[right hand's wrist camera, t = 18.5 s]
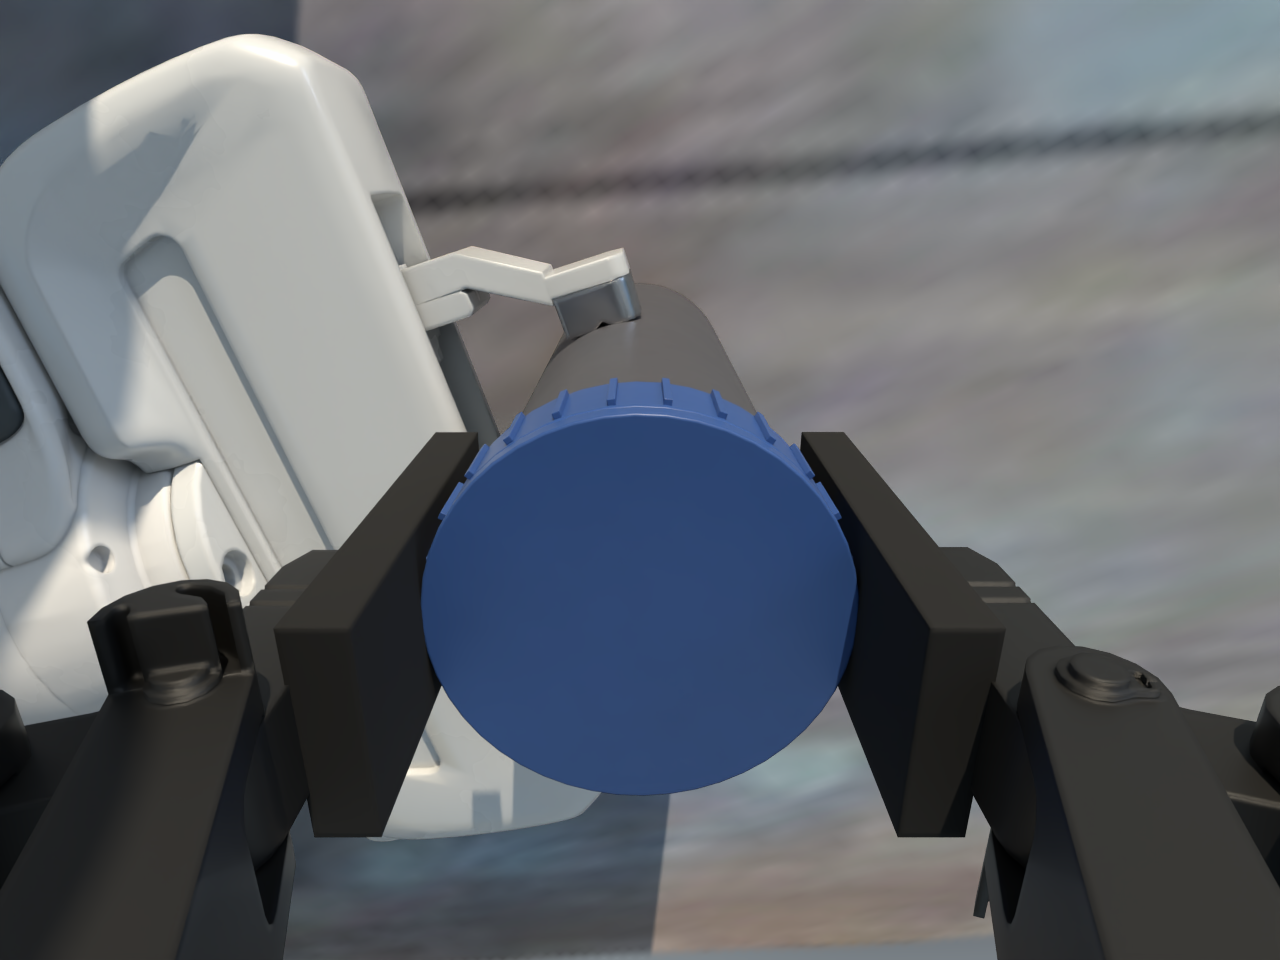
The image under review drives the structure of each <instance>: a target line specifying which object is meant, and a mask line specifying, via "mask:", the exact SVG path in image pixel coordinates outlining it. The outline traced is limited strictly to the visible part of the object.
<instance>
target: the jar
mask: <svg viewBox="0 0 1280 960" xmlns="http://www.w3.org/2000/svg"><path fill="white" fill-rule="evenodd" d="M635 287H636V290H637V294H638V297H639V301H640V304H641V308H642V309H641V312H642V313H641V315H639V316H638V317H636V318H634V319H631V320H629V321H626V322H622V323H617V324H613V325H611V324H608V323H605V322H602V323H601V324H600V325H599V327H598V328H597V329H596V330H594V331H592V332H590V333H588V334H585V335H582V336H579V337H575V338H572V339H569V340H567V337H566V334H565V332H564V334H563V336H562V338H561V340H560V342H559V343H558V345H557V347H556V349H555V351H554V353H553V355H552V357H551V359H550V361H549V363H548V365H547V367H546V369H545V371H544V373H543V374H542V376H541V378H540V380H539V382H538V384H537V386H536V388H535V390H534V392H533V394H532V396H531V398H530V400H529V402H528V404H527V405H526V407H525V409H524V411H523V414H524V415H525V416H526V415H527V414H529V413H530V412H532V411H533V410H535V409H537V408H539V407H541V406H543V405H545V404H547V403H549V402H551V401H553V400H554V399H556V398H558V396H559V393H560V391H563V390H566V389H567V391H568V393H569V394H570V393H573V392H576V391H579V390H582V389H586V388H591V387H596V386H600V385H605V384H609V381H610V379H611V378H618V383H623V382H635V381H636V382H658V383H661V381H662V378H669V379H670V384H673V385H679V386H685V387H690V388H693V389H696V390H700V391H703V392H706V393H709V394H711V391H712V389H714V390H716V391H719V392H720V395H721V397H722V399H724V400H726V401H729V402H731V403H733V404H735V405H737V406H739V407H741V408H743V409H744V410H746V411H747V412H749V413H750V414H752V415H754V416H755V414H756V413H757V412H756V410H755V408H754V407H753V405H752V403H751V401H750V399H749V397H748V395H747V393H746V391H745V389H744V387H743V385H742V383H741V381H740V379H739V377H738V376H737V374H736V372H735V370H734V368H733V366H732V364H731V362H730V360H729V358H728V356H727V354H726V352H725V350H724V348H723V347H722V345H721V343H720V341H719V339H718V337H717V335H716V333H715V331H714V329H713V327H712V325H711V324H710V322H709V321H708V319H707V317H706V316H705V315H704V314H703V313H702V311H701V310H700V309H699V308H698V307H697V306H696V305H695V304H694V303H692V302H691V301H690V300H689V299H687V298H686V297H684V296H683V295H681V294H679V293H677V292H675V291H673V290H671V289H668V288H665V287H662V286H658V285H653V284H642V283H638V284H635Z"/></svg>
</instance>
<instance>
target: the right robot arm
mask: <svg viewBox="0 0 1280 960" xmlns="http://www.w3.org/2000/svg"><path fill="white" fill-rule="evenodd" d="M800 451H801V453H802V455H803V456H804V458H805V460H806V461H807V463H808V465H809V466H810V468H811V470H812V471H813V473H814V474H815V476H814V477H813V478H812V479H813V480H814V482H815V484H816V483H818V482H821V484H822V485H823V487H824V488H825V490H826V492H827V493H828V495H829V497H830V498H831V500H832V502H833V503H834V505H835V506H836V508H837V510H838V511H839V513H840V515H841V517H842V518H841V519H839V520H837V521H838V523H839V525H840V527H841V530H842V532H843V534H844V536H845V538H846V540H847V542H848V545H849V549H850V552H851V554H852V556H853V562H854V566H855V569H856V577H857V584H858V592H859V601H858V614H857V623H856V631H855V639H854V646H853V649H852V652H851V655H850V658H849V661H848V664H847V668H846V670H845V672H844V674H843V676H842V678H841V680H840V682H839V684H838V687H839V690H840V692H841V695H842V697H843V700H844V702H845V705H846V707H847V710H848V713H849V715H850V718H851V720H852V723H853V725H854V728H855V730H856V733H857V735H858V738H859V740H860V743H861V745H862V748H863V750H864V753H865V755H866V758H867V761H868V763H869V766H870V768H871V771H872V773H873V776H874V778H875V781H876V783H877V786H878V788H879V791H880V793H881V796H882V798H883V801H884V803H885V806H886V809H887V811H888V814H889V816H890V819H891V821H892V824H893V826H894V829H895V831H896V834H897V836H898V837H965V834H966V829H967V824H968V819H969V814H970V809H971V804H972V799H973V796H974V798H975V799H976V801H977V803H978V805H979V807H980V809H981V810H982V812H983V814H984V816H985V818H986V820H987V821H988V823H989V825H990V827H991V829H990V834H989V839H988V844H987V848H986V853H985V858H984V862H983V867H982V872H981V877H980V881H979V886H978V891H977V895H976V901H975V907H974V914H973V916H976V917H980V918H984V917H985V912H986V908H987V903H988V902H989V901H990V908H991V915H992V923H993V930H994V937H995V944H996V951H997V959H998V960H1280V686H1278V687H1276V688H1275V689H1273V690H1272V691H1270V692H1269V693H1267V694H1266V696H1265V699H1264V702H1263V704H1262V707H1261V710H1260V713H1259V716H1258V719H1257V722H1253V721H1248V720H1243V719H1237V718H1232V717H1226V716H1221V715H1216V714H1210V713H1205V712H1200V711H1194V710H1189V709H1185V708H1181V707H1179V705H1178V704H1177V702H1176V700H1175V698H1174V696H1173V695H1172V693H1171V692H1170V691H1169V690H1168V689H1167V687H1166V686H1165V685H1164V684H1163V683H1162V682H1161V681H1160V680H1159V678H1157V677H1156V676H1154V675H1153V674H1151V673H1150V672H1148V671H1146V670H1145V669H1143V668H1142V667H1140V666H1139V665H1137V664H1135V663H1133V662H1130V661H1128V660H1125V659H1123V658H1121V657H1118V656H1116V655H1113V654H1111V653H1107V652H1103V651H1099V650H1094V649H1090V648H1086V647H1079V646H1075V645H1074V644H1073V643H1072V642H1071V641H1070V640H1069V639H1068V638H1067V637H1066V636H1065V635H1064V634H1063V633H1062V632H1061V631H1060V630H1059V628H1058V627H1057V626H1056V625H1055V624H1054V623H1053V622H1052V621H1051V620H1050V619H1049V618H1048V617H1047V616H1046V615H1045V614H1044V613H1043V612H1042V611H1041V609H1040V608H1039V607H1038V606H1037V605H1036V604H1035V603H1031V602H1030V598H1029V597H1028V596H1027V595H1026V594H1025V593H1024V591H1023V590H1022V589H1021V588H1020V587H1016V586H1015V582H1014V581H1013V580H1012V579H1011V578H1010V577H1009V576H1008V575H1007V573H1006V572H1005V571H1004V570H1003V569H1002V568H1001V567H1000V566H999V565H998V564H997V563H995V562H993V561H991V560H990V559H988V558H986V557H984V556H982V555H981V554H979V553H977V552H975V551H973V550H971V549H970V548H968V547H938V545H937V544H936V543H935V542H934V541H933V539H932V538H931V537H930V536H929V535H928V533H927V532H926V531H925V530H924V529H923V527H922V526H921V525H920V524H919V522H918V521H917V520H916V519H915V518H914V516H913V515H912V514H911V513H910V512H909V510H908V509H907V508H906V507H905V506H904V504H903V503H902V502H901V501H900V500H899V498H898V497H897V496H896V495H895V493H894V492H893V491H892V490H891V489H890V487H889V486H888V485H887V484H886V483H885V481H884V480H883V479H882V478H881V477H880V475H879V474H878V473H877V472H876V471H875V469H874V468H873V467H872V466H871V464H870V463H869V462H868V461H867V460H866V458H865V457H864V456H863V455H862V454H861V452H860V451H859V450H858V449H857V448H856V446H855V445H854V444H853V443H852V441H851V440H850V439H849V438H848V437H847V435H846V434H845V433H844V432H802V435H801V448H800ZM478 452H479V442H478V432H435V434H434V435H433V436H432V437H431V438H430V440H429V441H428V442H427V443H426V444H425V446H424V447H423V448H422V449H421V451H420V452H419V453H418V454H417V455H416V457H415V458H414V459H413V460H412V461H411V463H410V464H409V465H408V466H407V467H406V469H405V470H404V471H403V472H402V473H401V475H400V476H399V477H398V478H397V480H396V481H395V482H394V483H393V484H392V486H391V487H390V488H389V489H388V490H387V492H386V493H385V494H384V495H383V496H382V498H381V499H380V500H379V501H378V502H377V504H376V505H375V506H374V507H373V509H372V510H371V511H370V512H369V513H368V515H367V516H366V517H365V518H364V519H363V521H362V522H361V523H360V524H359V525H358V527H357V528H356V529H355V530H354V532H353V533H352V534H351V535H350V536H349V538H348V539H347V540H346V541H345V542H344V544H343V545H342V546H341V547H340V548H339V550H311V551H309V552H308V553H306V554H304V555H302V556H300V557H299V558H297V559H295V560H293V561H291V562H290V563H288V564H286V565H284V566H283V567H282V568H281V569H280V570H279V571H278V572H277V573H276V574H275V575H274V576H273V577H272V578H271V579H270V580H269V582H268V583H267V584H266V585H265V589H261V590H260V591H259V592H258V593H257V594H256V595H255V596H254V598H253V599H252V600H251V601H250V605H249V606H245V607H244V608H242V603H241V598H240V594H239V590H238V589H236V588H235V587H233V586H232V585H230V584H229V583H227V582H222V581H216V580H210V579H196V580H180V581H175V582H170V583H165V584H160V585H155V586H151V587H148V588H145V589H142V590H139V591H137V592H134V593H131V594H128V595H125V596H123V597H121V598H119V599H118V600H116V601H114V602H112V603H110V604H108V605H106V606H105V607H103V608H101V609H100V610H99V611H98V612H97V613H96V614H95V615H94V616H93V617H91V618H90V619H89V620H88V621H87V625H88V628H89V631H90V635H91V638H92V641H93V645H94V648H95V651H96V655H97V658H98V662H99V665H100V668H101V672H102V675H103V678H104V682H105V685H106V688H107V692H108V696H107V698H106V700H105V701H104V703H103V705H102V707H101V709H100V711H97V712H93V713H89V714H83V715H78V716H73V717H67V718H62V719H57V720H52V721H46V722H41V723H36V724H30V725H25V726H24V724H23V721H22V718H21V715H20V712H19V709H18V706H17V704H16V701H15V698H14V697H12V696H11V695H9V694H8V693H6V692H5V691H3V690H0V960H283V954H284V946H285V939H286V932H287V925H288V917H289V910H290V903H291V896H292V888H293V881H294V874H295V867H296V862H295V855H294V848H293V844H292V839H291V834H290V828H291V826H292V825H293V823H294V821H295V819H296V817H297V815H298V814H299V812H300V810H301V808H302V806H303V804H304V802H305V801H306V799H307V802H308V807H309V812H310V817H311V822H312V827H313V832H314V837H382V835H383V833H384V830H385V827H386V825H387V822H388V820H389V817H390V815H391V812H392V810H393V807H394V805H395V802H396V800H397V797H398V795H399V792H400V790H401V787H402V785H403V782H404V779H405V777H406V774H407V772H408V769H409V767H410V764H411V762H412V759H413V757H414V754H415V752H416V749H417V747H418V744H419V742H420V739H421V737H422V734H423V731H424V729H425V726H426V724H427V721H428V719H429V716H430V714H431V711H432V709H433V706H434V704H435V701H436V699H437V696H438V694H439V691H440V689H441V686H442V685H441V683H440V681H439V680H438V678H437V676H436V673H435V671H434V668H433V665H432V663H431V660H430V657H429V655H428V652H427V648H426V643H425V636H424V629H423V619H422V610H421V589H422V578H423V573H424V569H425V565H426V557H427V555H428V552H429V550H430V547H431V545H432V542H433V540H434V537H435V535H436V533H437V530H438V528H439V526H440V524H441V522H442V520H440V519H438V516H439V514H440V512H441V510H442V509H443V507H444V506H445V504H446V502H447V501H448V499H449V497H450V496H451V494H452V492H453V491H454V489H455V488H456V486H457V484H458V483H459V482H460V483H463V484H464V483H465V482H466V480H467V478H466V477H465V476H464V475H465V473H466V472H467V470H468V469H469V467H470V465H471V464H472V462H473V460H474V459H475V457H476V455H477V454H478Z"/></svg>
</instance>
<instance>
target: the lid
mask: <svg viewBox="0 0 1280 960" xmlns="http://www.w3.org/2000/svg"><path fill="white" fill-rule="evenodd" d="M464 476H465V477H466V478H467V480H466V482H465V483H464V484H463V483H460V482H459V483H458V484H457V486H456V488H455V489H454V491H453V492H452V494H451V496H450V497H449V499H448V501H447V502H446V504H445V506H444V507H443V509H442V510H441V512H440V514H439V516H438V519H440V520H442V522H441V524H440V526H439V528H438V530H437V533H436V535H435V537H434V540H433V542H432V545H431V547H430V550H429V552H428V555H427V557H426V565H425V569H424V573H423V578H422V589H421V610H422V619H423V629H424V636H425V643H426V648H427V652H428V655H429V657H430V660H431V663H432V665H433V668H434V671H435V673H436V676H437V678H438V680H439V681H440V683H441V685H442V687H443V689H444V691H445V693H446V694H447V696H448V698H449V699H450V701H451V702H452V703H453V705H454V706H455V707H456V709H457V710H458V712H459V713H460V714H461V716H462V717H463V718H464V719H465V720H466V721H467V722H468V723H469V724H470V725H471V727H472V728H473V729H474V730H475V731H476V732H477V733H478V734H479V735H480V736H481V737H483V738H484V739H485V740H486V741H487V742H489V743H490V744H491V745H492V746H493V747H495V748H496V749H497V750H498V751H500V752H501V753H503V754H504V755H506V756H507V757H509V758H510V759H512V760H514V761H515V762H517V763H518V764H520V765H522V766H524V767H526V768H528V769H530V770H532V771H534V772H536V773H538V774H540V775H542V776H544V777H547V778H550V779H552V780H555V781H558V782H561V783H563V784H566V785H570V786H574V787H578V788H582V789H586V790H590V791H595V792H602V793H609V794H616V795H640V796H646V795H660V794H672V793H677V792H683V791H689V790H695V789H698V788H702V787H705V786H709V785H712V784H716V783H720V782H722V781H725V780H727V779H730V778H732V777H734V776H737V775H739V774H742V773H744V772H746V771H748V770H750V769H752V768H753V767H755V766H757V765H759V764H761V763H763V762H765V761H766V760H768V759H769V758H771V757H772V756H773V755H775V754H776V753H778V752H779V751H781V750H782V749H784V748H785V747H786V746H788V745H789V744H790V743H791V742H792V741H793V740H794V739H795V738H797V737H798V736H799V735H800V734H801V733H802V732H803V731H804V730H805V729H806V728H807V727H808V726H809V725H810V724H811V723H812V721H813V720H814V719H815V718H816V717H817V716H818V715H819V713H820V712H821V711H822V710H823V708H824V707H825V705H826V704H827V702H828V701H829V699H830V698H831V696H832V695H833V693H834V692H835V690H836V688H837V686H838V684H839V682H840V680H841V678H842V676H843V674H844V672H845V670H846V668H847V664H848V661H849V658H850V655H851V652H852V649H853V646H854V639H855V631H856V623H857V614H858V601H859V592H858V584H857V577H856V569H855V566H854V562H853V556H852V554H851V552H850V549H849V545H848V542H847V540H846V538H845V536H844V534H843V532H842V530H841V527H840V525H839V523H838V521H837V520H839V519H841V518H842V517H841V515H840V513H839V511H838V510H837V508H836V506H835V505H834V503H833V502H832V500H831V498H830V497H829V495H828V493H827V492H826V490H825V488H824V487H823V485H822V484H821V482H818V483H816V484H815V482H814V480H813V479H812V478H813V477H814V476H815V474H814V473H813V471H812V470H811V468H810V466H809V465H808V463H807V461H806V460H805V458H804V456H803V455H802V453H801V451H800V450H799V448H798V447H797V446H796V445H795V444H793V445H791V446H790V447H789V446H788V444H787V443H786V442H785V441H784V440H783V439H782V438H781V437H780V436H779V435H778V434H777V433H776V432H774V431H773V430H772V429H771V428H770V427H769V425H768V423H767V421H766V420H765V418H764V416H763V415H762V414H761V413H759V412H757V413H756V414H755V416H754V415H752V414H750V413H749V412H747V411H746V410H744V409H743V408H741V407H739V406H737V405H735V404H733V403H731V402H729V401H726V400H724V399H722V397H721V395H720V392H719V391H716V390H714V389H712V391H711V394H709V393H706V392H703V391H700V390H696V389H693V388H690V387H685V386H679V385H673V384H670V379H669V378H662V381H661V383H658V382H636V381H635V382H623V383H618V378H611V379H610V381H609V384H605V385H600V386H596V387H591V388H586V389H582V390H579V391H576V392H573V393H570V394H569V393H568V391H567V389H566V390H563V391H560V393H559V396H558V398H556V399H554V400H553V401H551V402H549V403H547V404H545V405H543V406H541V407H539V408H537V409H535V410H533V411H532V412H530V413H529V414H527V415H526V416H525V415H524V414H523V413H522V412H520V413H519V414H517V415H516V417H515V418H514V420H513V422H512V424H511V426H510V427H509V428H508V429H507V430H506V431H505V432H504V433H503V434H502V435H501V436H500V437H499V438H497V439H496V440H495V441H494V442H493V443H492V444H491V446H490V447H489V446H488V445H486V444H484V445H483V446H482V447H481V449H480V450H479V452H478V454H477V455H476V457H475V459H474V460H473V462H472V464H471V465H470V467H469V469H468V470H467V472H466V473H465V475H464Z"/></svg>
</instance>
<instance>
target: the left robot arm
mask: <svg viewBox="0 0 1280 960" xmlns="http://www.w3.org/2000/svg"><path fill="white" fill-rule="evenodd" d="M489 293H492V294H496V295H501V296H506V297H511V298H516V299H521V300H525V301H530V302H535V303H540V304H545V305H550V306H554V305H555V307H556V310H557V313H558V315H559V318H560V321H561V324H562V326H563V329H564V332H565V334H566V337H567V340H569V339H572V338H575V337H579V336H582V335H585V334H588V333H590V332H592V331H594V330H596V329H597V328H598V327H599V325H600V324H601V323H602V322H605V323H608V324H611V325H613V324H617V323H622V322H626V321H629V320H631V319H634V318H636V317H638V316H639V315H641V313H642V312H641V309H642V308H641V304H640V301H639V297H638V294H637V290H636V287H635V283H634V280H633V276H632V273H631V270H630V266H629V263H628V260H627V257H626V254H625V251H624V248H621V249H616V250H612V251H608V252H605V253H602V254H599V255H596V256H593V257H590V258H587V259H584V260H581V261H578V262H574V263H571V264H568V265H565V266H562V267H559V268H556V269H553V268H552V265H551V264H547V263H543V262H539V261H534V260H530V259H526V258H521V257H517V256H513V255H509V254H504V253H500V252H496V251H491V250H487V249H483V248H478V247H474V246H471V247H468V248H465V249H462V250H459V251H456V252H453V253H450V254H447V255H444V256H441V257H438V258H435V259H432V260H431V259H430V256H429V254H428V251H427V249H426V246H425V244H424V241H423V238H422V236H421V233H420V231H419V228H418V226H417V223H416V221H415V218H414V216H413V213H412V211H411V208H410V206H409V203H408V201H407V198H406V196H405V193H404V191H403V188H402V185H401V183H400V180H399V178H398V175H397V173H396V170H395V168H394V165H393V163H392V160H391V158H390V155H389V153H388V150H387V148H386V145H385V143H384V140H383V138H382V135H381V133H380V130H379V128H378V125H377V123H376V120H375V117H374V115H373V112H372V110H371V107H370V104H369V102H368V99H367V97H366V94H365V92H364V90H363V88H362V86H361V84H360V83H359V81H358V80H357V78H356V77H355V76H354V75H353V74H352V73H351V72H349V71H348V70H346V69H345V68H343V67H341V66H339V65H337V64H335V63H334V62H332V61H330V60H328V59H326V58H324V57H323V56H321V55H319V54H317V53H315V52H313V51H311V50H309V49H307V48H305V47H303V46H300V45H298V44H295V43H292V42H289V41H286V40H283V39H280V38H277V37H273V36H267V35H261V34H243V35H236V36H231V37H227V38H224V39H221V40H218V41H215V42H213V43H210V44H207V45H204V46H201V47H199V48H196V49H194V50H192V51H189V52H187V53H184V54H182V55H180V56H177V57H175V58H173V59H170V60H168V61H166V62H164V63H162V64H160V65H157V66H155V67H153V68H151V69H149V70H147V71H144V72H142V73H140V74H138V75H136V76H134V77H132V78H130V79H129V80H127V81H125V82H123V83H121V84H119V85H117V86H115V87H113V88H111V89H109V90H107V91H106V92H104V93H102V94H100V95H98V96H96V97H95V98H93V99H91V100H89V101H87V102H85V103H84V104H82V105H80V106H79V107H77V108H75V109H74V110H72V111H70V112H69V113H67V114H66V115H64V116H62V117H61V118H59V119H57V120H56V121H54V122H53V123H51V124H49V125H48V126H46V127H44V128H43V129H41V130H40V131H38V132H37V133H35V134H34V135H32V136H31V137H30V138H28V139H27V140H26V141H25V142H23V143H22V144H21V145H20V146H19V147H18V148H17V149H16V150H14V151H13V152H12V153H11V154H10V155H9V157H8V158H7V159H6V160H5V161H4V163H3V164H2V165H1V166H0V690H3V691H5V692H6V693H8V694H9V695H11V696H12V697H14V698H15V701H16V704H17V706H18V709H19V712H20V715H21V718H22V721H23V724H24V726H25V725H30V724H36V723H41V722H46V721H52V720H57V719H62V718H67V717H73V716H78V715H83V714H89V713H93V712H97V711H100V709H101V707H102V705H103V703H104V701H105V700H106V698H107V696H108V692H107V688H106V685H105V682H104V678H103V675H102V672H101V668H100V665H99V662H98V658H97V655H96V651H95V648H94V645H93V641H92V638H91V635H90V631H89V628H88V625H87V621H88V620H89V619H90V618H91V617H93V616H94V615H95V614H96V613H97V612H98V611H99V610H100V609H101V608H103V607H105V606H106V605H108V604H110V603H112V602H114V601H116V600H118V599H119V598H121V597H123V596H125V595H128V594H131V593H134V592H137V591H139V590H142V589H145V588H148V587H151V586H155V585H160V584H165V583H170V582H175V581H180V580H196V579H210V580H216V581H222V582H227V583H229V584H230V585H232V586H233V587H235V588H236V589H238V590H239V594H240V598H241V603H242V608H244V607H245V606H249V605H250V601H251V600H252V599H253V598H254V596H255V595H256V594H257V593H258V592H259V591H260V590H261V589H265V585H266V584H267V583H268V582H269V580H270V579H271V578H272V577H273V576H274V575H275V574H276V573H277V572H278V571H279V570H280V569H281V568H282V567H283V566H284V565H286V564H288V563H290V562H291V561H293V560H295V559H297V558H299V557H300V556H302V555H304V554H306V553H308V552H309V551H311V550H339V548H340V547H341V546H342V545H343V544H344V542H345V541H346V540H347V539H348V538H349V536H350V535H351V534H352V533H353V532H354V530H355V529H356V528H357V527H358V525H359V524H360V523H361V522H362V521H363V519H364V518H365V517H366V516H367V515H368V513H369V512H370V511H371V510H372V509H373V507H374V506H375V505H376V504H377V502H378V501H379V500H380V499H381V498H382V496H383V495H384V494H385V493H386V492H387V490H388V489H389V488H390V487H391V486H392V484H393V483H394V482H395V481H396V480H397V478H398V477H399V476H400V475H401V473H402V472H403V471H404V470H405V469H406V467H407V466H408V465H409V464H410V463H411V461H412V460H413V459H414V458H415V457H416V455H417V454H418V453H419V452H420V451H421V449H422V448H423V447H424V446H425V444H426V443H427V442H428V441H429V440H430V438H431V437H432V436H433V435H434V434H435V432H478V442H479V450H480V449H481V447H482V446H483V445H484V444H486V445H488V446H489V447H490V446H491V444H492V443H493V442H494V441H495V440H496V439H497V438H499V437H500V433H499V430H498V428H497V425H496V423H495V420H494V418H493V415H492V413H491V410H490V408H489V405H488V403H487V400H486V398H485V395H484V393H483V390H482V388H481V385H480V382H479V380H478V377H477V375H476V372H475V370H474V367H473V365H472V362H471V360H470V357H469V355H468V352H467V350H466V347H465V345H464V342H463V340H462V337H461V334H460V332H459V329H458V327H457V324H456V322H455V321H458V320H461V319H464V318H467V317H470V316H472V315H473V314H474V313H475V312H477V311H478V310H479V309H480V308H482V307H483V306H484V305H486V304H487V303H488V301H489V299H490V295H489ZM601 793H602V792H595V791H590V790H586V789H582V788H578V787H574V786H570V785H566V784H563V783H561V782H558V781H555V780H552V779H550V778H547V777H544V776H542V775H540V774H538V773H536V772H534V771H532V770H530V769H528V768H526V767H524V766H522V765H520V764H518V763H517V762H515V761H514V760H512V759H510V758H509V757H507V756H506V755H504V754H503V753H501V752H500V751H498V750H497V749H496V748H495V747H493V746H492V745H491V744H490V743H489V742H487V741H486V740H485V739H484V738H483V737H481V736H480V735H479V734H478V733H477V732H476V731H475V730H474V729H473V728H472V727H471V725H470V724H469V723H468V722H467V721H466V720H465V719H464V718H463V717H462V716H461V714H460V713H459V712H458V710H457V709H456V707H455V706H454V705H453V703H452V702H451V701H450V699H449V698H448V696H447V694H446V693H445V691H444V689H443V687H442V686H441V689H440V691H439V694H438V696H437V699H436V701H435V704H434V706H433V709H432V711H431V714H430V716H429V719H428V721H427V724H426V726H425V729H424V731H423V734H422V737H421V739H420V742H419V744H418V747H417V749H416V752H415V754H414V757H413V759H412V762H411V764H410V767H409V769H408V772H407V774H406V777H405V779H404V782H403V785H402V787H401V790H400V792H399V795H398V797H397V800H396V802H395V805H394V807H393V810H392V812H391V815H390V817H389V820H388V822H387V825H386V827H385V830H384V833H383V835H382V837H366V838H367V839H369V840H371V841H379V842H386V841H394V840H398V839H413V840H415V839H438V838H449V837H460V836H469V835H478V834H487V833H495V832H502V831H510V830H517V829H522V828H528V827H534V826H540V825H546V824H551V823H555V822H560V821H564V820H568V819H572V818H574V817H577V816H579V815H581V814H582V813H584V812H585V811H586V810H587V809H588V807H589V806H590V805H591V804H592V803H593V802H594V801H595V800H596V799H597V797H598V796H599V795H600V794H601Z"/></svg>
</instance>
